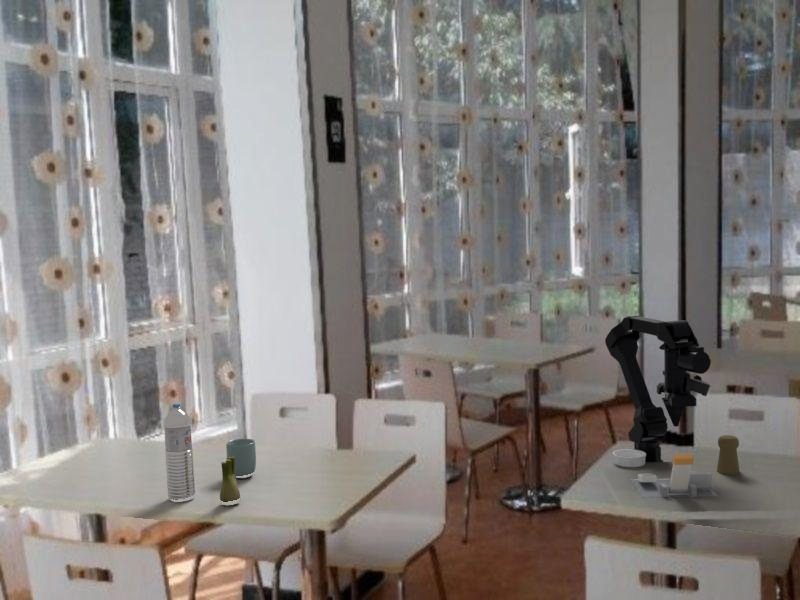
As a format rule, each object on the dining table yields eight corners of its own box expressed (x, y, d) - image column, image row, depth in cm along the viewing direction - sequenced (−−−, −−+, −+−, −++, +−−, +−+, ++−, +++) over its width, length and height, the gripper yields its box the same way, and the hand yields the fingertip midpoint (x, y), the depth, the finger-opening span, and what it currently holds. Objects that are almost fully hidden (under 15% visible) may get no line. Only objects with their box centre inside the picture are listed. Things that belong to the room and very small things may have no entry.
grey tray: (629, 484, 228) (629, 469, 227) (700, 483, 227) (700, 468, 226) (641, 503, 213) (641, 487, 212) (717, 502, 212) (718, 486, 211)
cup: (222, 480, 244) (220, 444, 243) (238, 472, 251) (236, 437, 250) (247, 482, 241) (245, 446, 240) (261, 474, 248) (260, 439, 247)
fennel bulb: (226, 509, 219) (224, 462, 217) (214, 505, 222) (212, 459, 221) (245, 503, 223) (243, 457, 222) (233, 499, 226) (231, 454, 225)
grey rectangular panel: (684, 487, 218) (685, 471, 216) (709, 486, 217) (710, 471, 215) (685, 490, 216) (687, 475, 214) (710, 490, 216) (712, 474, 214)
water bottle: (181, 504, 223) (175, 407, 221) (162, 501, 227) (156, 405, 225) (200, 497, 229) (195, 402, 227) (182, 493, 233) (176, 400, 230)
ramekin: (610, 471, 240) (610, 456, 239) (615, 462, 248) (615, 447, 247) (644, 474, 236) (644, 458, 236) (647, 465, 245) (647, 450, 244)
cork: (742, 480, 228) (742, 439, 227) (717, 480, 229) (717, 438, 228) (738, 474, 234) (738, 433, 233) (714, 473, 235) (714, 432, 234)
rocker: (638, 480, 225) (637, 473, 225) (652, 480, 225) (652, 473, 225) (642, 482, 220) (641, 475, 220) (656, 481, 220) (656, 474, 220)
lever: (667, 489, 215) (673, 453, 208) (685, 489, 215) (692, 453, 208) (669, 495, 213) (675, 459, 206) (687, 494, 213) (694, 459, 206)
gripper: (717, 373, 223) (717, 434, 224) (697, 361, 241) (697, 417, 243) (672, 374, 224) (672, 435, 225) (656, 362, 242) (656, 418, 244)
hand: (675, 426), depth 234 cm, fingers closed
